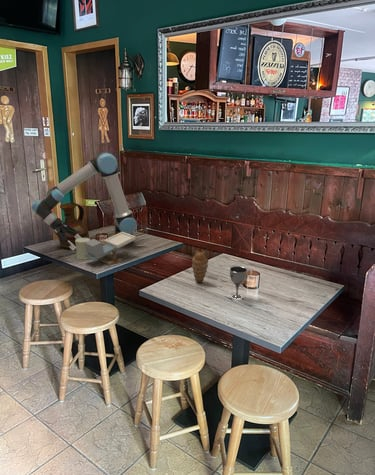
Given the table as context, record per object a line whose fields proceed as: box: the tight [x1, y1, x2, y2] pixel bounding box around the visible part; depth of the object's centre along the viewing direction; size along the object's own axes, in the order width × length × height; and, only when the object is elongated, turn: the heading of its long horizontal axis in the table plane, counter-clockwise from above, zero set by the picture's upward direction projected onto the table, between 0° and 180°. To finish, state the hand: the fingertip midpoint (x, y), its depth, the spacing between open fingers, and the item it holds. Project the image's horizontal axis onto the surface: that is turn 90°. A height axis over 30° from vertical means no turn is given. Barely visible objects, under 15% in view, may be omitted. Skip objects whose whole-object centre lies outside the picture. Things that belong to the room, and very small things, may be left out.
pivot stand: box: [96, 244, 124, 266], centre depth 231 cm, size 10×15×8 cm, turn 44°
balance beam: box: [85, 232, 137, 262], centre depth 229 cm, size 30×14×8 cm, turn 134°
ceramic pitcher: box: [58, 202, 90, 249], centre depth 253 cm, size 20×20×30 cm
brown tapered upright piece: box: [191, 250, 209, 284], centre depth 199 cm, size 9×8×18 cm
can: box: [75, 237, 91, 261], centre depth 234 cm, size 9×9×12 cm
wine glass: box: [229, 265, 248, 299], centre depth 183 cm, size 8×8×15 cm
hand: (79, 245), depth 234 cm, fingers open, 13 cm apart
